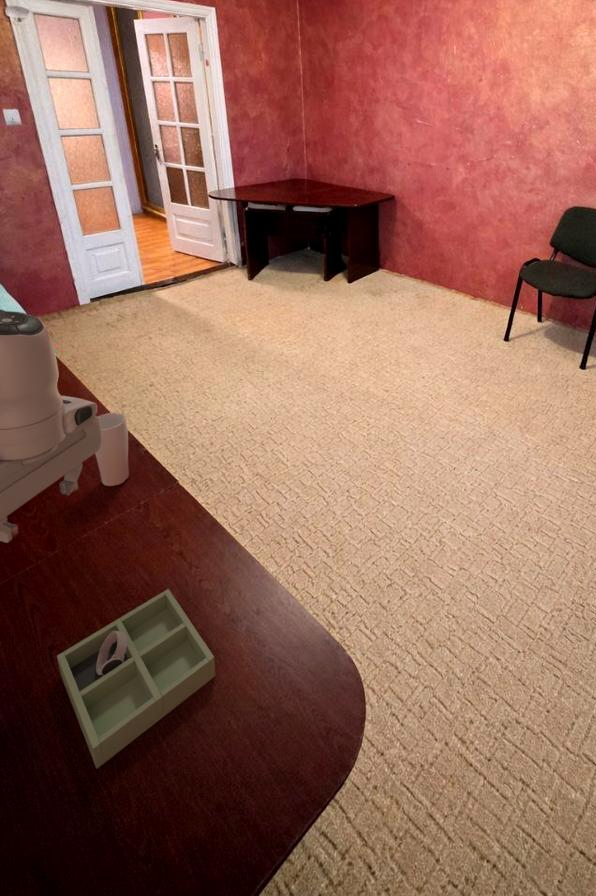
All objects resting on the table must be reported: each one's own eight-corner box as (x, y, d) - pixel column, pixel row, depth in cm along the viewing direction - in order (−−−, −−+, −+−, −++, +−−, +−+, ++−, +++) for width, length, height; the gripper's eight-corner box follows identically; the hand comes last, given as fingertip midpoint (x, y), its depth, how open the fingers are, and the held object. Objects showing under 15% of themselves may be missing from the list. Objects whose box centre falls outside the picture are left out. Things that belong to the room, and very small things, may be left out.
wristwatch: (90, 684, 66) (113, 653, 66) (91, 650, 70) (113, 622, 70) (111, 684, 67) (133, 655, 68) (111, 651, 71) (132, 624, 72)
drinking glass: (95, 476, 107) (86, 418, 103) (129, 465, 111) (122, 409, 107) (101, 494, 102) (92, 433, 98) (136, 481, 107) (129, 423, 102)
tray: (96, 769, 59) (92, 748, 58) (60, 674, 69) (56, 655, 67) (215, 676, 70) (214, 657, 69) (170, 605, 80) (168, 588, 78)
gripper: (-38, 484, 54) (-16, 578, 59) (105, 398, 73) (114, 474, 78) (-82, 472, 56) (-57, 566, 60) (70, 391, 75) (81, 466, 79)
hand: (41, 513), depth 69 cm, fingers open, 8 cm apart
